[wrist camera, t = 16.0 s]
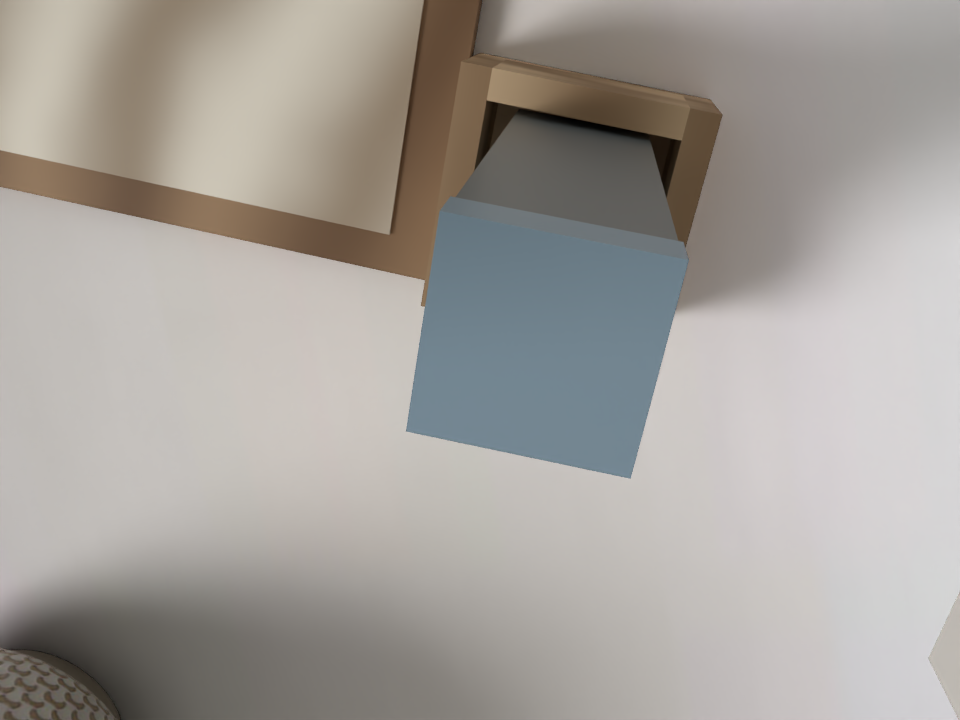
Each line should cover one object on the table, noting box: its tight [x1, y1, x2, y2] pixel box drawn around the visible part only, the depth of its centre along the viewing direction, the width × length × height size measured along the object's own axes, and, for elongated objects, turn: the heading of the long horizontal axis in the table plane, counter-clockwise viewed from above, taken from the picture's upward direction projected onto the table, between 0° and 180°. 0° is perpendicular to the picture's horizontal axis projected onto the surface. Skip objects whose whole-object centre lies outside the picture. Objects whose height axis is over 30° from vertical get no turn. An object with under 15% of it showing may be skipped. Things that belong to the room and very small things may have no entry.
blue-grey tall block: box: [406, 109, 689, 479], centre depth 20 cm, size 4×4×14 cm
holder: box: [421, 53, 722, 307], centre depth 26 cm, size 7×7×3 cm
